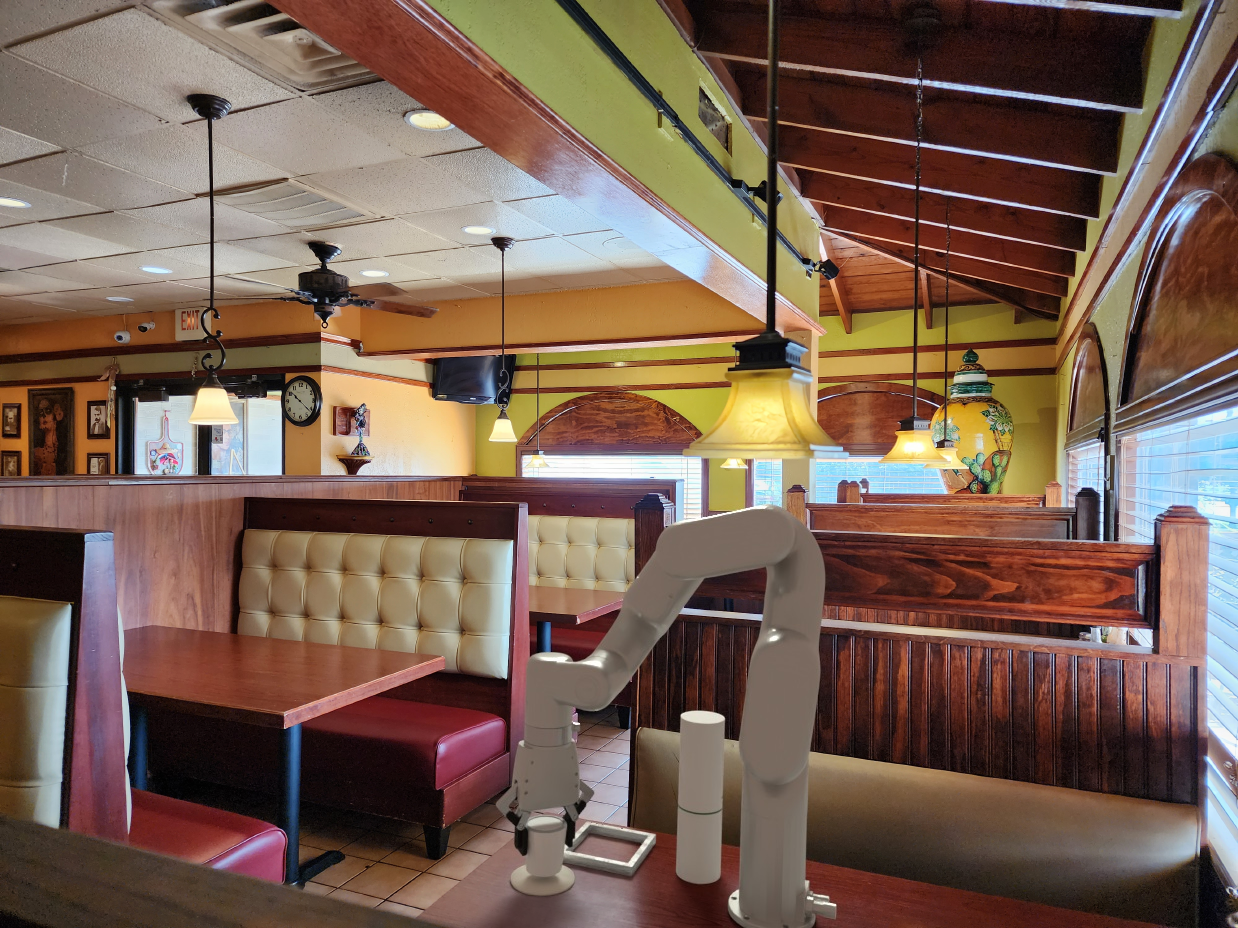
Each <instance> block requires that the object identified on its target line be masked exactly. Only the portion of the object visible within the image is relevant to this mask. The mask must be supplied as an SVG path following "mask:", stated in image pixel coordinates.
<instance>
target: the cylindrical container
mask: <svg viewBox="0 0 1238 928" xmlns="http://www.w3.org/2000/svg"><path fill="white" fill-rule="evenodd" d="M679 723H680V727H679V728H680V729H679V730H680V731H679V760H678V761H679V762H678V763H679V764H678V788H677V789H678V791H677V792H678V793H677V796H678V797H677V826H676V827H677V828H676V832H677V833H676V865H675V873H676V875H677V877H679V878H680V879H681V880H683V881H685V882H688V883H691V884H697V885H705V884H711V883H714V882H716V881H719V879H720V878H721V870H722V869H721V867H722V865H721V864H722V862H721V861H722V836H723V834H722V831H723V803H724V802H723V797H724V796H723V795H724V765H725V764H724V762H725V759H724V758H725V757H724V756H725V732H726V731H725V726H726V725H725V723H726V718H725V716H724V715H723V714H720V713H717V712H714V711H707V710H690V711H685V712H682V713H681V714H680V722H679Z"/></svg>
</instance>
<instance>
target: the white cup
mask: <svg viewBox="0 0 1238 928" xmlns="http://www.w3.org/2000/svg"><path fill="white" fill-rule="evenodd" d="M525 827H526V828H527V830H528V847H527V854H526V856H524V857H525V858H524V859H525V865H526V871H527V872H528V873H529V874H531V875H534V876H539V877H549V876H553V875H556V874H557V873H559V872H560V871H561V869H562V865H563V863H564V862H563V855H564V846H565V838H566V830H567V822H566V821H565V820H564V819H563V818H562V817H561V816H557V815H552V814H540V815H534V816H530V817H529V819H528V821H527V823H526V825H525Z"/></svg>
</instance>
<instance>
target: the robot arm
mask: <svg viewBox="0 0 1238 928" xmlns="http://www.w3.org/2000/svg"><path fill="white" fill-rule="evenodd" d="M823 557H824V556H823V554H822V550H821V548H820V546H819V544H818V542H817V540H816V538H815V536H814V535H813V533H812V531H811V530H810V529H809V528H808V527H807V526H806V525H805V523H804V522H803V521H801V520H800V519H799V518H798V517H796V516H795V515H794V514H792V513H791V512H790V511H788V510H787V509H785V508H783V507H781V506H778V505H776V504H771V503H764V504H763V503H762V504H758V505H756V506H752V507H747V508H744V509H739V510H735V511H729V512H726V513H721V514H717V515H712V516H707V517H706V516H705V517H701V518H700V517H699V518H695V519H693V518H688V519H687V518H686V519H683V520H679V521H675V522H673V523H671V524H670V525H668V526H667V527H665V529H664V530H663V531H662V532H661V533H660V535H659V537H658V539H657V542H656V546H655V551H654V552H653V553H652V555H651V557H650V558H649V559H648V561H647V562H646V564H645V565H644V566H643V568H642V569H641V571H640V572H639V574H638V575H637V576H636V577H635V578H634V580H633V582H632V583H631V584H630V586H629V587H628V588H627V590H626V592H625V593H624V595H623V599H622V601H621V602H622V603H621V609H620V611H619V613H618V615H617V618H616V619H615V620H614V622H613V624H612V625H611V627H610V628H609V630H608V632H607V633H606V634H605V636H604V637H603V638H602V640H601V641H600V643H599V644H598V645H597V646H596V648H595V649H594V651H593V652H592V653H591V654H590V655H589V656H587V657H586V658H585V659H581V660H578V661H573V658H572V657H571V656H570V655H568V654H566V653H562V652H551V651H548V652H547V651H545V652H544V651H543V652H539V653H535V654H532V655H531V656H530V657H529V658H528V660H527V662H526V670H525V697H524V698H525V699H524V704H525V705H524V731H523V732H524V734H523V740H520V741H518V744H517V749H516V753H515V757H514V758H515V759H514V765H513V771H512V779H511V781H512V782H511V787H510V788H509V789H508V790H507V791H506V792H505V793H504V794H503V795H502V796H501V797H500V798H499V799H498V800H497V801H496V803H495V806H496V808H497V809H498V811H500V813H501V814H502V815H503V816H504V817H505V818H506V819H507V821H509V823H511V824H512V825H513V826H514V835H513V837H514V840H513V841H514V842H513V845H514V848H515V849H516V850H517V851H518V852H519V853H520V855H521V856H522V857H523V856H524V857H525V856H526V854H527V847H528V830H527V828H526V827H525V825H526V823H527V821H528V819H529V818H531V814H532V813H533V812H540V811H547V810H553V809H559V808H563V810H564V812H565V813H564V814H562V817H561V818H563V819H564V820H565V821H566V822H567V830H566V838H565V844H566V846H567V847H569V848H570V847H573V839H575V833H576V827H577V826H576V824H577V823H576V821H578V820H579V818H580V815H581V814H582V813H583V811H584V810H585V808H587V805H588V803H589V802H590V800H591V799H592V798H593V796H594V795H595V790H593V788H591V787H590V786H589V785H587V784H586V782H584V781H583V780H582V779H580V765H579V757H578V749H577V744H576V740H575V739H574V734H575V733H576V732H577V733H578V732H580V731H581V724H580V723H579V722H574V721H573V719H574V718H573V716H574V714H573V713H574V708H576V709H578V710H582V711H588V712H595V711H596V712H597V711H601V710H603V709H605V708H607V707H608V706H609V705H610V704H611V703H612V701H613V700H614V699H615V698H616V697H617V696H618V695H619V693H621V692H622V691H623V689H624V688H626V685H628V683H629V682H630V681H631V679H632V678H633V676H634V674H635V673H636V672H637V670H638V669H639V667H640V666H641V665H642V664H643V663H644V661H645V659H646V658H647V656H648V655H649V654H650V652H651V651H652V650H653V648H654V646H655V645H656V644H657V642H658V641H659V640H661V639H660V638H662V636H664V635H665V634H666V633H667V632H668V630H669V628H671V626H672V624H673V623H674V621H675V620H676V619H677V617H678V616H679V614H680V613H681V612H682V611H683V609H684V607H685V605H686V604H687V603H688V601H690V598H691V597H692V596H693V595H694V593H695V592H696V591H697V589H698V587H700V585H701V584H702V582H703V581H704V579H707V578H714V577H720V576H724V575H730V574H734V573H740V572H744V571H745V572H746V571H750V570H756V569H761V568H765V569H766V574H767V575H766V584H765V585H766V586H765V593H764V603H763V610H762V617H761V618H762V619H761V623H760V624H761V625H760V629H759V635H758V638H757V641H756V643H755V646H754V648H753V652H752V654H751V658H750V662H749V668H748V674H747V675H748V676H747V681H746V690H745V696H744V697H745V698H744V703H743V710H742V718H741V724H740V725H741V726H740V732H739V738H738V752H739V755H740V760H741V762H742V781H741V783H742V784H741V807H740V808H741V809H740V811H741V812H740V839H739V840H740V841H739V843H740V844H739V874H738V875H739V876H738V877H739V880H738V889H736V890H735V891H734V892H732V893H731V894H730V896H729V897H728V900H727V910H728V914H729V915H730V917H731V918H732V920H733V921H735V923H736V924H738V925H739V926H741V927H743V928H813V927H814V926H815V922H816V915H817V916H822V918H823V917H824V918H829V919H833V920H836V918H837V904H836V903H832V902H830V896H829V895H824V894H816V893H814V891H813V890H810V880H806V869H807V868H806V866H807V865H806V862H807V857H806V855H807V829H808V827H807V826H808V825H807V823H808V821H807V819H808V804H809V803H808V801H809V800H808V797H809V760H810V752H811V743H812V738H813V731H814V725H815V718H816V710H817V705H818V703H817V702H818V695H819V689H820V681H821V661H820V660H821V659H820V651H819V646H820V636H821V635H820V634H821V628H822V621H823V620H822V619H823V609H824V600H825V588H826V569H825V562H824V558H823ZM580 791H581V793H580ZM512 802H513V803H516V804H518V806H517V807H516V810H515V812H514V811H513V810H512V809H510V804H512Z"/></svg>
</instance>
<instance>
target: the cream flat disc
mask: <svg viewBox="0 0 1238 928" xmlns="http://www.w3.org/2000/svg"><path fill="white" fill-rule="evenodd" d="M575 879H576V877H575V873H574V871H573V870H572V869H570V867H568V866H566V865H563V864H562V869H561V871H560V872H559V873H557V874H556V875H553V876H549V877H539V876H534V875H531V874H529V873H528V872H527V871H526V864H523V865H522V866H519V867H518V868H515V869H514V870H513V872H512V873H511V874H510V883H511V886H512V887H513V888H514V889H515V890H516V891H518V892H520V893H522V894H525V895H528V896H535V897H548V896H549V897H550V896H555V895H559V894H562V893H564V892H566V891H568V890H569V889H571V888H572V887H573V885H574V884H575Z"/></svg>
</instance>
